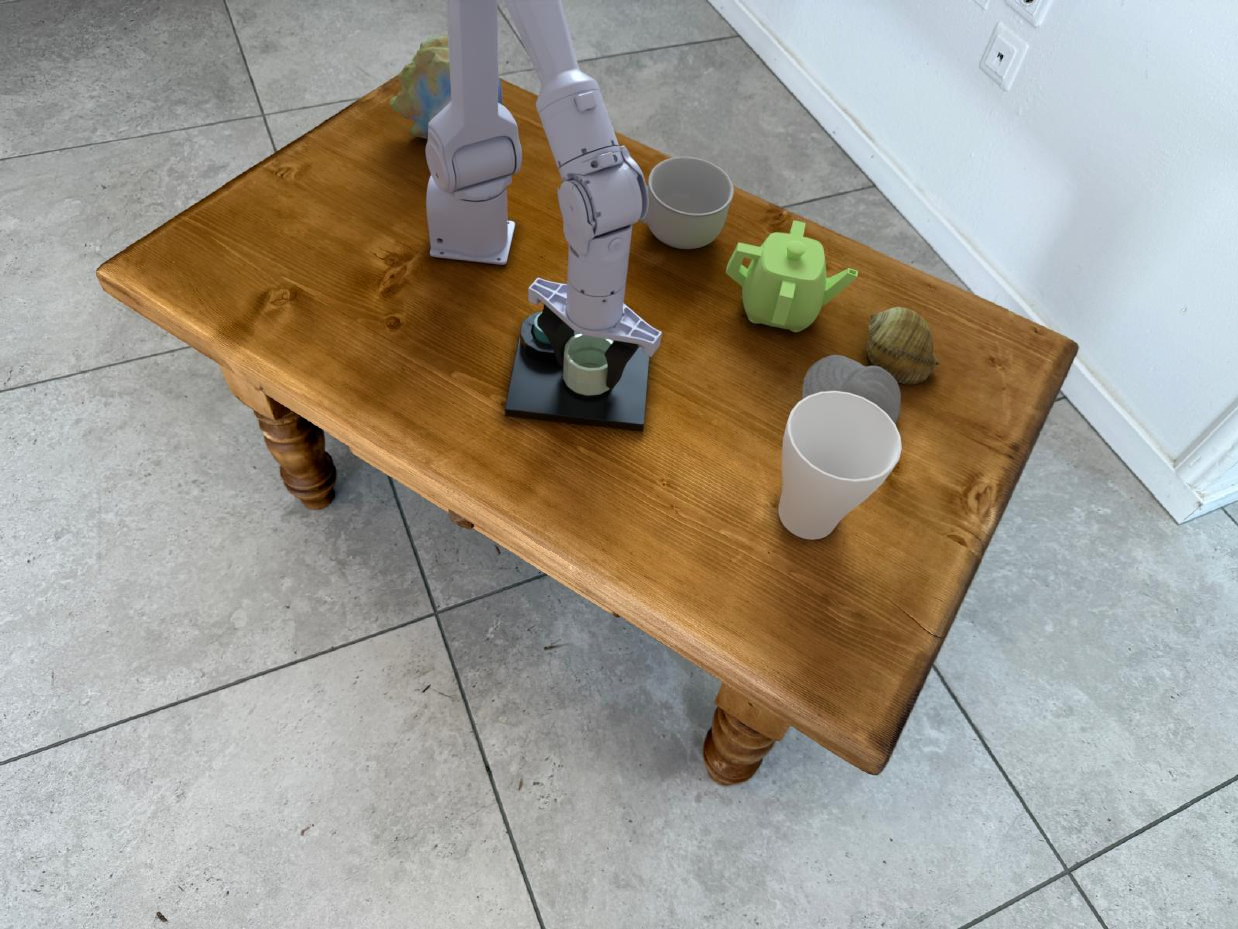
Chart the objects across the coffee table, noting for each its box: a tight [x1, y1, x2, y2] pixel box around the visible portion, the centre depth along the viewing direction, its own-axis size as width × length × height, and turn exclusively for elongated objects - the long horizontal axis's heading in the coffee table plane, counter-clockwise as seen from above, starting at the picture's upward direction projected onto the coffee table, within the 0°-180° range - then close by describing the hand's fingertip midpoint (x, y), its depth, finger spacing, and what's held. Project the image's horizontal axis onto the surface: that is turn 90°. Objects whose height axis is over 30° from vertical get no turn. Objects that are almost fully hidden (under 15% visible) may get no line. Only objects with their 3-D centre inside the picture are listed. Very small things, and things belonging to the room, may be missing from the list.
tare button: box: [534, 312, 551, 345], centre depth 99 cm, size 4×4×2 cm
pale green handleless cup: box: [563, 334, 613, 395], centre depth 96 cm, size 6×6×4 cm
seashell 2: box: [865, 306, 940, 386], centre depth 103 cm, size 10×7×8 cm
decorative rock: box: [389, 34, 503, 140], centre depth 119 cm, size 14×16×15 cm
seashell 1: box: [801, 354, 902, 426], centre depth 97 cm, size 12×6×10 cm
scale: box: [504, 310, 651, 432], centre depth 98 cm, size 15×14×3 cm
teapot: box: [725, 220, 859, 333], centre depth 105 cm, size 12×12×10 cm
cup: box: [778, 391, 903, 541], centre depth 85 cm, size 10×10×14 cm
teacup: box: [640, 156, 735, 250], centre depth 112 cm, size 14×11×8 cm
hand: (589, 371), depth 97 cm, fingers closed on pale green handleless cup, 5 cm apart
